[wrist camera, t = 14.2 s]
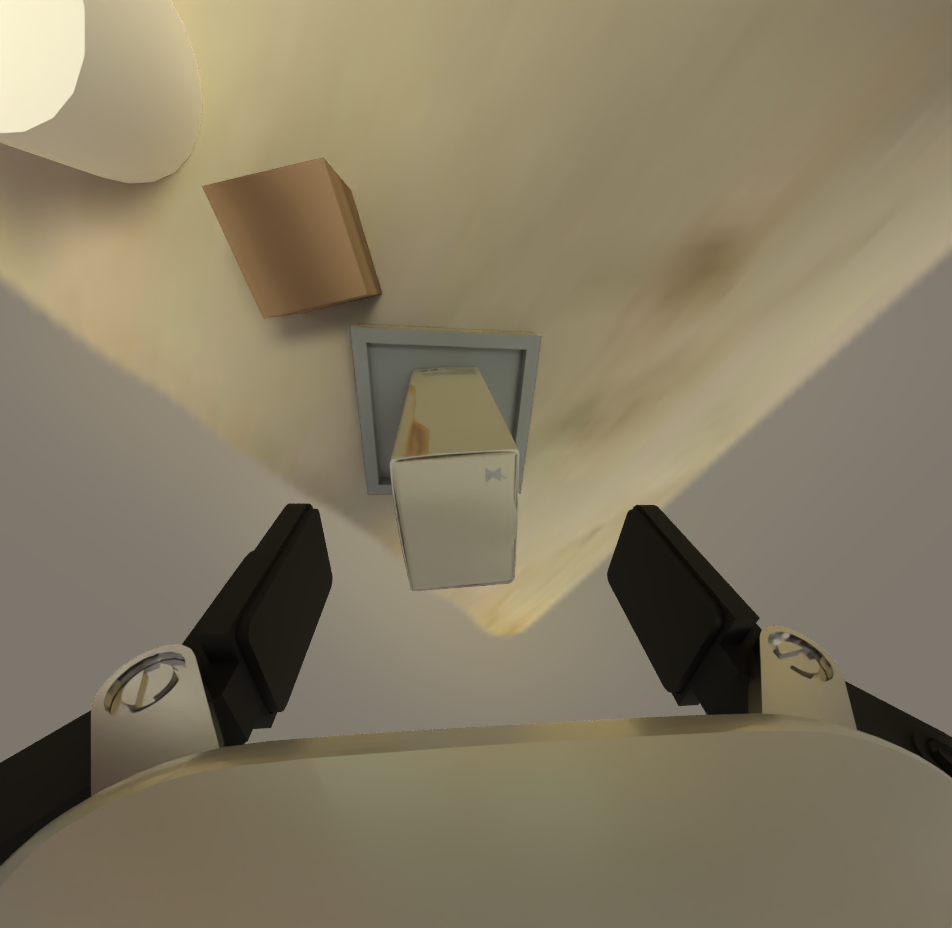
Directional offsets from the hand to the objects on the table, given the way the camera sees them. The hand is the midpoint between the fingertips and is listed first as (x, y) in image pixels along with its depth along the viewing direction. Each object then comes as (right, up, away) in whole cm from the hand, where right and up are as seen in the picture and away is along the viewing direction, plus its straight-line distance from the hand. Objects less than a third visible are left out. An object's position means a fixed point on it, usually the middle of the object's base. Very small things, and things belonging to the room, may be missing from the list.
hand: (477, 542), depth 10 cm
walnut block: (-9, +14, +9) cm, 19 cm away
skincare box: (-2, +6, +13) cm, 14 cm away
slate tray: (-2, +6, +13) cm, 15 cm away
